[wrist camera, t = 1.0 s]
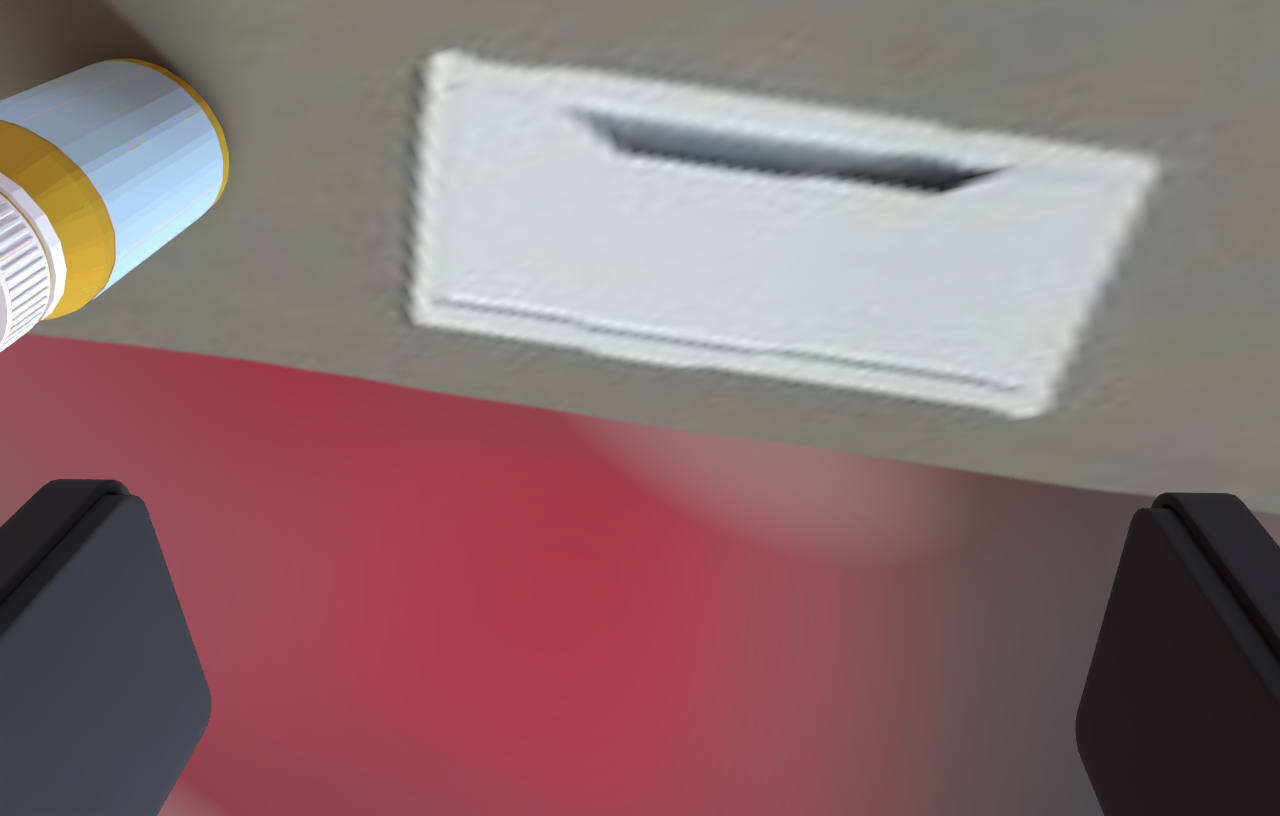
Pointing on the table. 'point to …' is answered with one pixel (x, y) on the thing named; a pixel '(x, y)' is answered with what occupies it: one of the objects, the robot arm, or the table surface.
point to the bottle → (97, 183)
